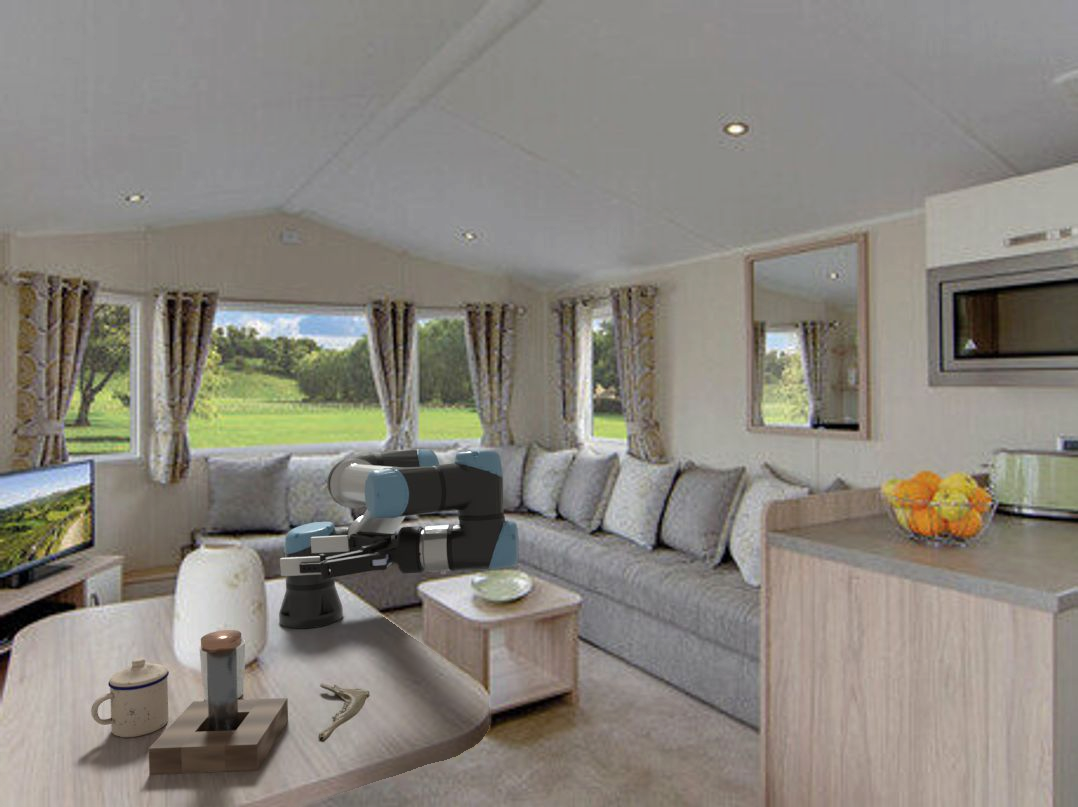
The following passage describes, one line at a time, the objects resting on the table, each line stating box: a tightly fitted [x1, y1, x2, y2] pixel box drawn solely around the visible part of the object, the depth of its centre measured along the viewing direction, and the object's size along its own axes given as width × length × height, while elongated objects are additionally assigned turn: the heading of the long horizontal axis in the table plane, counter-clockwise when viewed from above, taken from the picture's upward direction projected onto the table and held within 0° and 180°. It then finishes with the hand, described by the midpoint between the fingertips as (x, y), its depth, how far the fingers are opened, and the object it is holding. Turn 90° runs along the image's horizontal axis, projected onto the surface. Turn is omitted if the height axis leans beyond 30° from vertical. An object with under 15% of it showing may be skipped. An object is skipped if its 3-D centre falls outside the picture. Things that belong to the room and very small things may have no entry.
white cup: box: [199, 637, 246, 701], centre depth 136 cm, size 8×8×10 cm
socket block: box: [148, 697, 289, 775], centre depth 117 cm, size 16×16×4 cm
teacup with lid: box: [90, 657, 170, 738], centre depth 123 cm, size 12×9×12 cm
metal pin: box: [200, 629, 242, 731], centre depth 117 cm, size 6×6×18 cm
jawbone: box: [318, 683, 370, 741], centre depth 129 cm, size 9×20×2 cm, turn 17°
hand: (297, 555), depth 119 cm, fingers open, 13 cm apart
